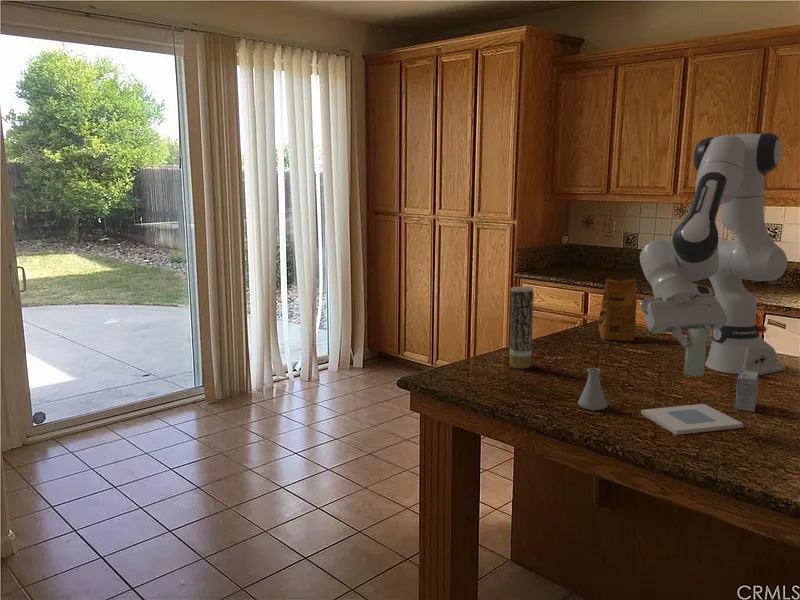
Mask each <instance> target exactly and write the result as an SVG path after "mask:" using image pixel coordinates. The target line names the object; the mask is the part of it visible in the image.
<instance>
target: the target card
mask: <svg viewBox="0 0 800 600" xmlns="http://www.w3.org/2000/svg"><path fill="white" fill-rule="evenodd" d="M640 414H641V415H642V416H644V417H646V418H647V419H649V420H650V421H652V422H654V423H655V424H657V425H659V426H661V427H662V428H664V429H666V430H667V431H669V432H670V433H672V434H673V435H675V436H677V435H687V434H688V435H689V434H695V433H704V432H705V433H707V432H714V431H725V430H733V429H742V428H744V423H743V422H741V421H739V420H737V419H735V418H733V417H731V416H728V415H727V414H725V413H723V412H721V411H719V410H717V409H715V408H713V407H711V406H710V405H708V404H705V403H699V404H698V403H697V404H688V405H687V404H686V405H678V406H677V405H676V406H668V407H659V408H656V407H655V408H648V409H640Z"/></svg>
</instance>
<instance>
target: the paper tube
mask: <svg viewBox="0 0 800 600" xmlns="http://www.w3.org/2000/svg"><path fill="white" fill-rule="evenodd" d="M509 310H510V317H509V318H510V319H509V321H510V322H509V366H510V367H511V368H513V369H518V370H519V369H521V370H524V369H529V368H530V367H531V366H532V352H533V351H532V348H533V347H532V346H533V340H532V339H533V319H534V318H533V313H534V288H533V287H530V286H512V287H511V288H510V309H509Z"/></svg>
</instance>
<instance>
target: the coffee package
mask: <svg viewBox="0 0 800 600" xmlns="http://www.w3.org/2000/svg"><path fill="white" fill-rule="evenodd" d="M637 286H638V285H637V279H627V280H616V279H615V280H614V279H609V278H608V279H607V278H606V280H605V287H604V292H603V296H602V301H601V308H600V312H599V319H598V332H599V335H600V339H601V340H602V341H605V342H606V341H609V342H610V341H616V342H633V341H635V338H636V324H637V323H636V321H637V302H638V301H637V299H638V298H637Z"/></svg>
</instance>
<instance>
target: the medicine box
mask: <svg viewBox="0 0 800 600" xmlns="http://www.w3.org/2000/svg"><path fill="white" fill-rule="evenodd" d="M759 379H760V375H759V372H754V371H747V370H741V372H740V374H738V377H737V381H736V394H735V395H736V396H735V404H734V405H735V407H734V408H735V410H738V411H743V412H750V413H755V411H756V407H757V404H758V403H757V402H758V392H759V391H758V390H759Z"/></svg>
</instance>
